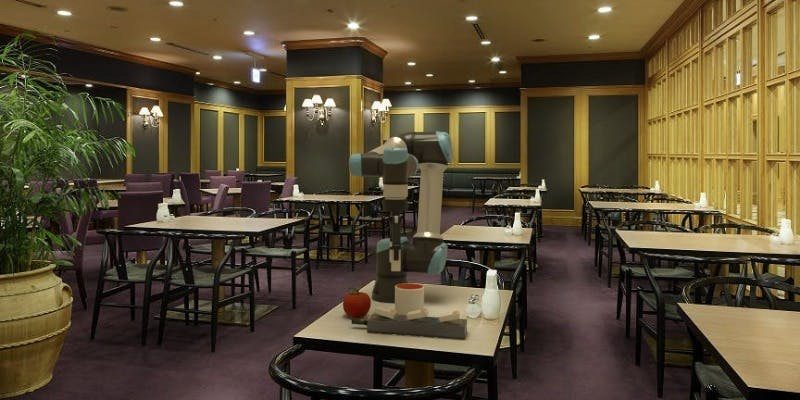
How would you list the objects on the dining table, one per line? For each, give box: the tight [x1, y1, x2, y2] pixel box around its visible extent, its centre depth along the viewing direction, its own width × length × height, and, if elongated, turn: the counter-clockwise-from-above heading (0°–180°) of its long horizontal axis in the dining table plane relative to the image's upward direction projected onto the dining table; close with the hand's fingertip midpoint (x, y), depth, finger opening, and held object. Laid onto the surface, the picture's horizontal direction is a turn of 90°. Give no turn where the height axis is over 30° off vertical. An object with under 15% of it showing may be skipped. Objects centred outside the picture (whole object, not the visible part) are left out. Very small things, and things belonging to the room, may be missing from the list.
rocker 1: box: [374, 305, 397, 319], centre depth 183 cm, size 4×6×2 cm, turn 79°
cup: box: [394, 282, 425, 315], centre depth 201 cm, size 10×10×10 cm
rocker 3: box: [438, 310, 461, 322], centre depth 179 cm, size 4×6×2 cm, turn 79°
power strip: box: [351, 312, 468, 341], centre depth 182 cm, size 8×36×4 cm, turn 79°
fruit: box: [342, 287, 372, 319], centre depth 198 cm, size 10×10×10 cm
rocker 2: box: [407, 308, 429, 320], centre depth 181 cm, size 4×6×2 cm, turn 79°
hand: (394, 266), depth 181 cm, fingers open, 13 cm apart
